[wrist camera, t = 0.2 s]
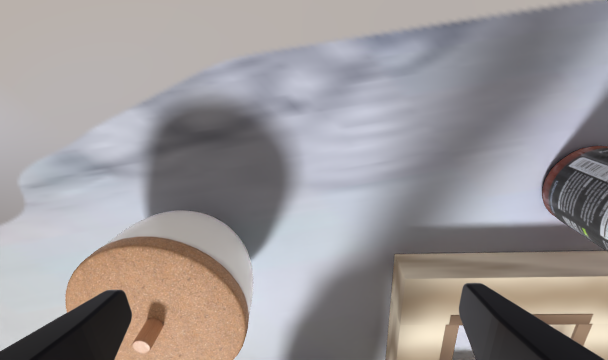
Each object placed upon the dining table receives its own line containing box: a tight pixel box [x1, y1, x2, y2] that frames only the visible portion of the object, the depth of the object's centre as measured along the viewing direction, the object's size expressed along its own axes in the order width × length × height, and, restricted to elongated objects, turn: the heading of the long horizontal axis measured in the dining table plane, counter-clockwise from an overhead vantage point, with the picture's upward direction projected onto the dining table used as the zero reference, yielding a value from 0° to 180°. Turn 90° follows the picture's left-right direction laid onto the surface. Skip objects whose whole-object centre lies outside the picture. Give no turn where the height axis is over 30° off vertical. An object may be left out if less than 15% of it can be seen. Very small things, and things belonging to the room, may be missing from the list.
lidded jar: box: [66, 211, 253, 360], centre depth 21 cm, size 11×11×9 cm
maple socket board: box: [386, 251, 608, 360], centre depth 26 cm, size 18×18×3 cm
